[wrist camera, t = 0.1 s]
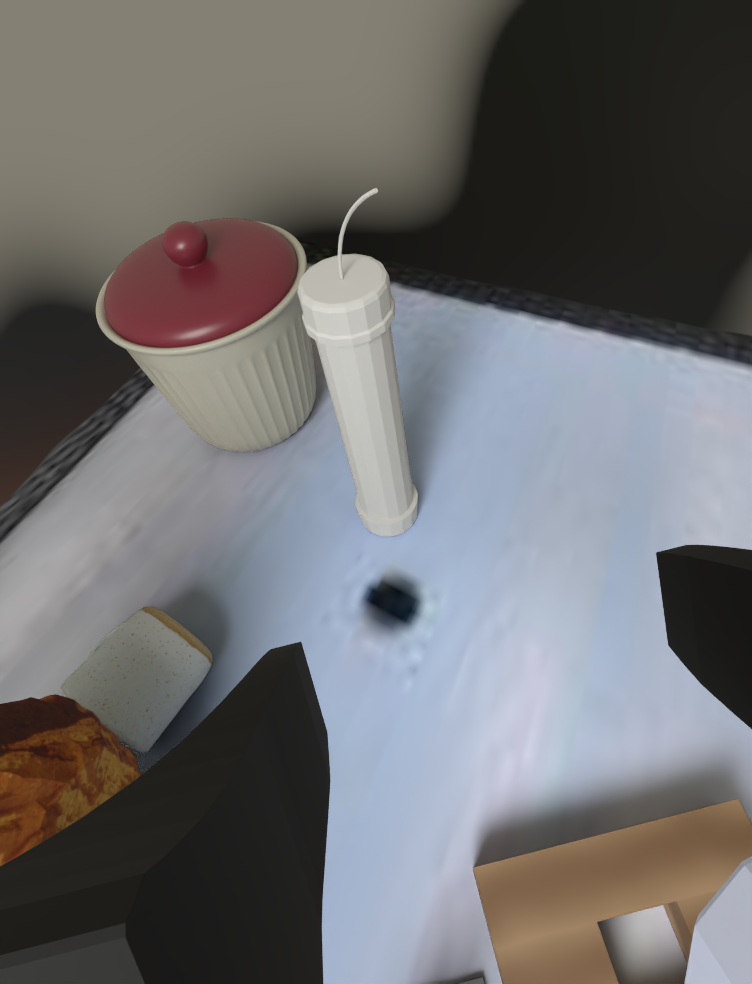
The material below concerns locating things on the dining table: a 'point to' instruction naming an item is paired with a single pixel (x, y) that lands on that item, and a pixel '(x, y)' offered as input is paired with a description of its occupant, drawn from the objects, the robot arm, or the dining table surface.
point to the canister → (218, 328)
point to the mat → (473, 981)
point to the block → (606, 891)
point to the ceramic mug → (140, 676)
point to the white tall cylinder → (362, 380)
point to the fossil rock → (54, 769)
